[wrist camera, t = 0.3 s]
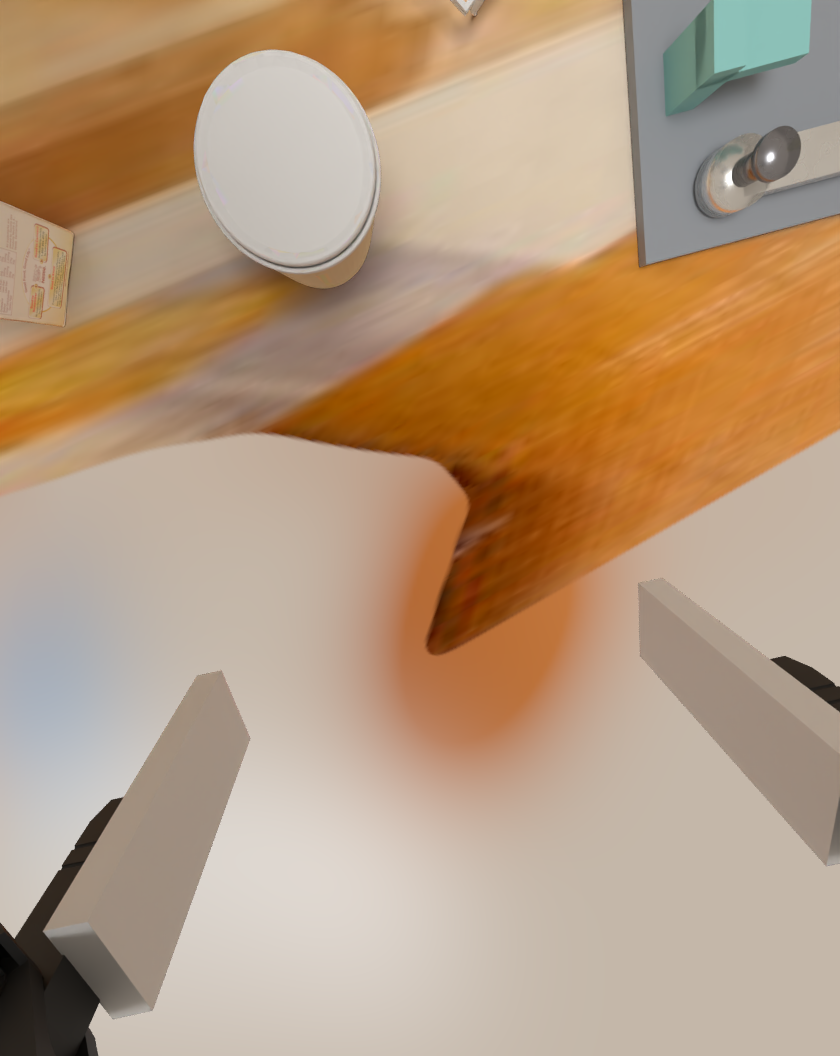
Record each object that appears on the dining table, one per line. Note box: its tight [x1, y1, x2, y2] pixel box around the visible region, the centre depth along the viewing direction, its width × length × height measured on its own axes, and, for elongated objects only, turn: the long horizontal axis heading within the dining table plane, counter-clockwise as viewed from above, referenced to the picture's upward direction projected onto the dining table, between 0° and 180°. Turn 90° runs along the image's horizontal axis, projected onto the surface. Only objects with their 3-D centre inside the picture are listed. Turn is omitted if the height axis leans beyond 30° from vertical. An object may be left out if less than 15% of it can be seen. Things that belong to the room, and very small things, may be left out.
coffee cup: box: [194, 50, 381, 289], centre depth 28 cm, size 9×9×12 cm
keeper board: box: [623, 0, 840, 267], centre depth 29 cm, size 22×23×6 cm
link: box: [695, 121, 840, 218], centre depth 31 cm, size 17×4×5 cm, turn 104°
